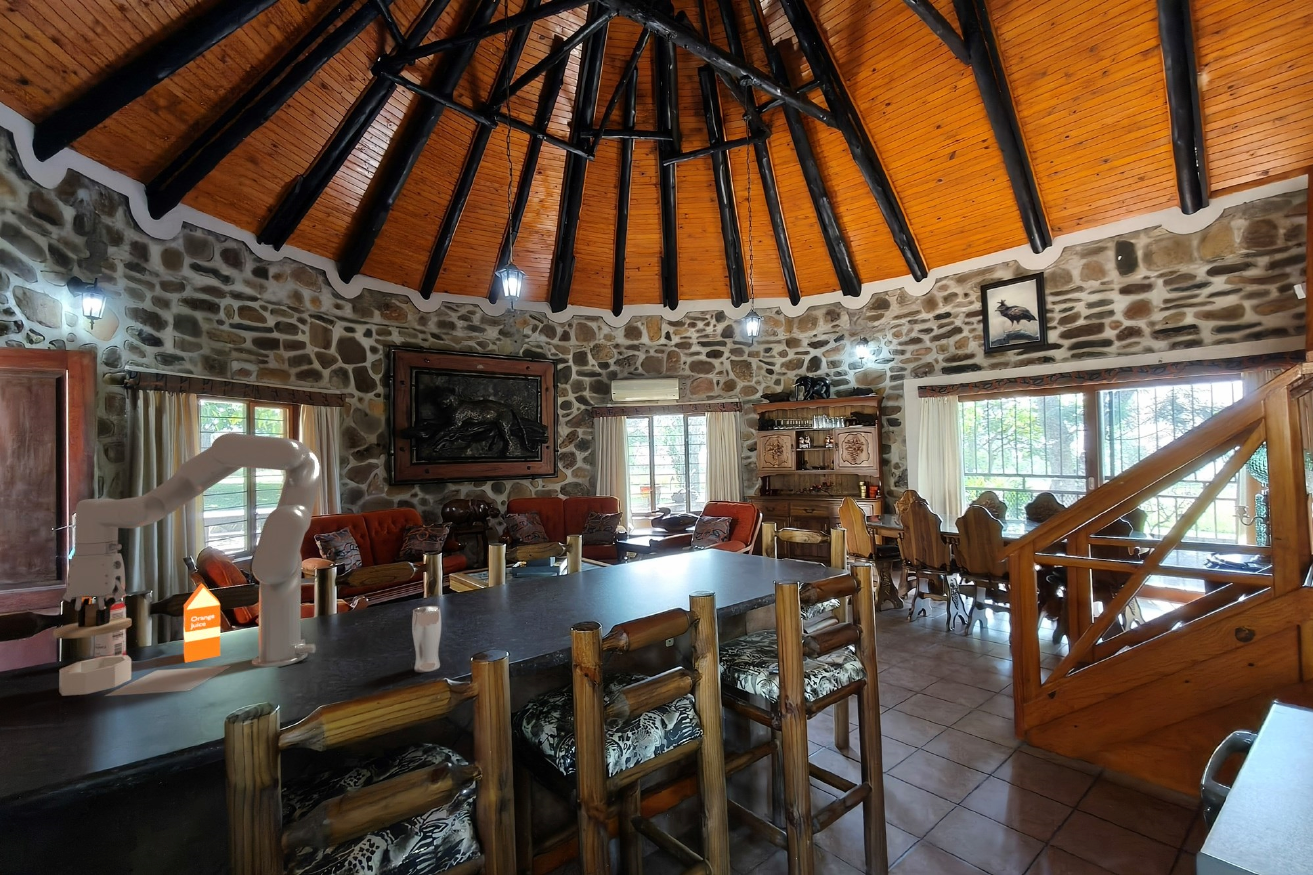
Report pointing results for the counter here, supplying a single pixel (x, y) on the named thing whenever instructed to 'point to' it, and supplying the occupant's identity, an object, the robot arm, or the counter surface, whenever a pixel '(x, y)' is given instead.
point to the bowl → (94, 675)
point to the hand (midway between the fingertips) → (94, 624)
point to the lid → (91, 625)
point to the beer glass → (426, 637)
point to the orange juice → (201, 625)
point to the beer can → (112, 635)
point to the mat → (169, 681)
